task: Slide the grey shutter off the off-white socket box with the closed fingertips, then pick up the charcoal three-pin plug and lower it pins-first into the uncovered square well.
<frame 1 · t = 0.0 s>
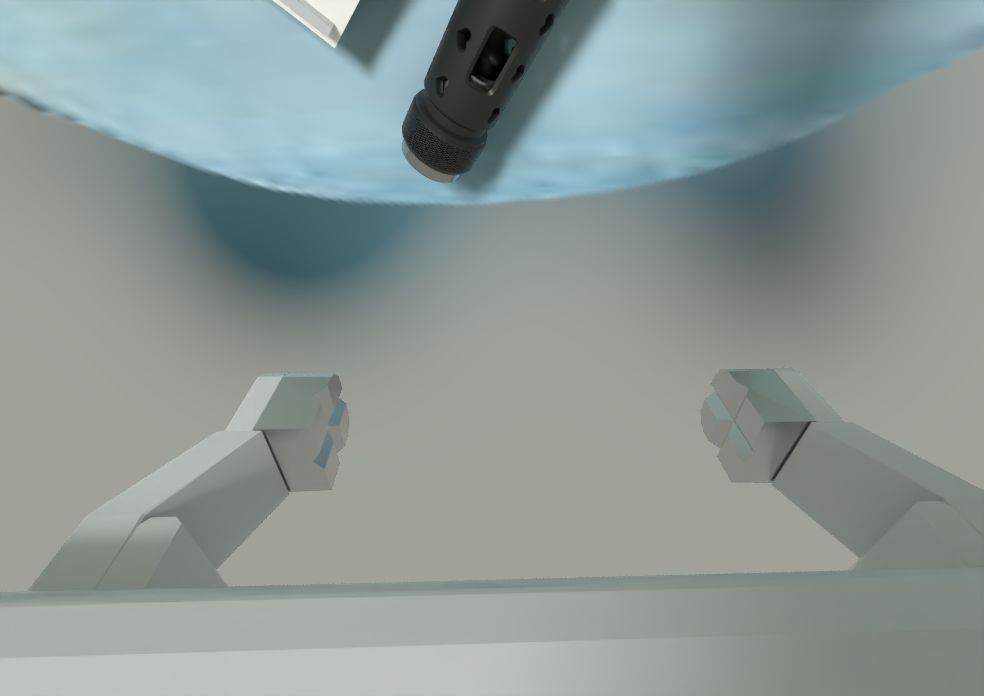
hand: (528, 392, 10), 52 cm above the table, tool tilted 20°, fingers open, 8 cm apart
muzzle brake: (485, 28, 49), on the table
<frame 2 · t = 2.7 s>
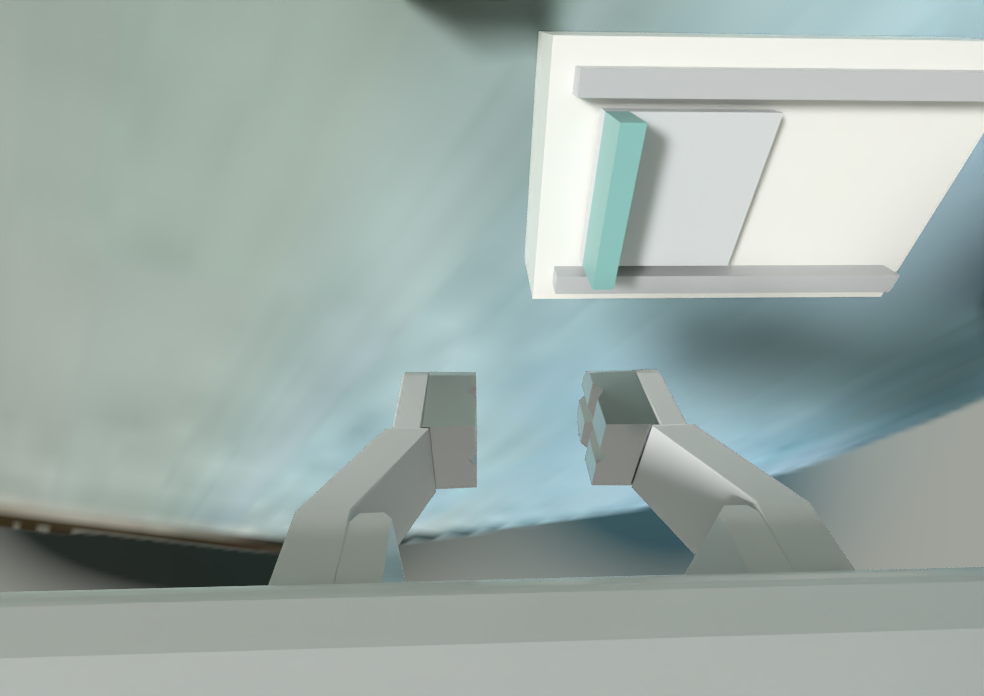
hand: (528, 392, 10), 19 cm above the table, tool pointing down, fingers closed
socket box: (704, 162, 25), on the table
shutter: (679, 202, 20), point 7 cm above the table, slide at 0.0 cm
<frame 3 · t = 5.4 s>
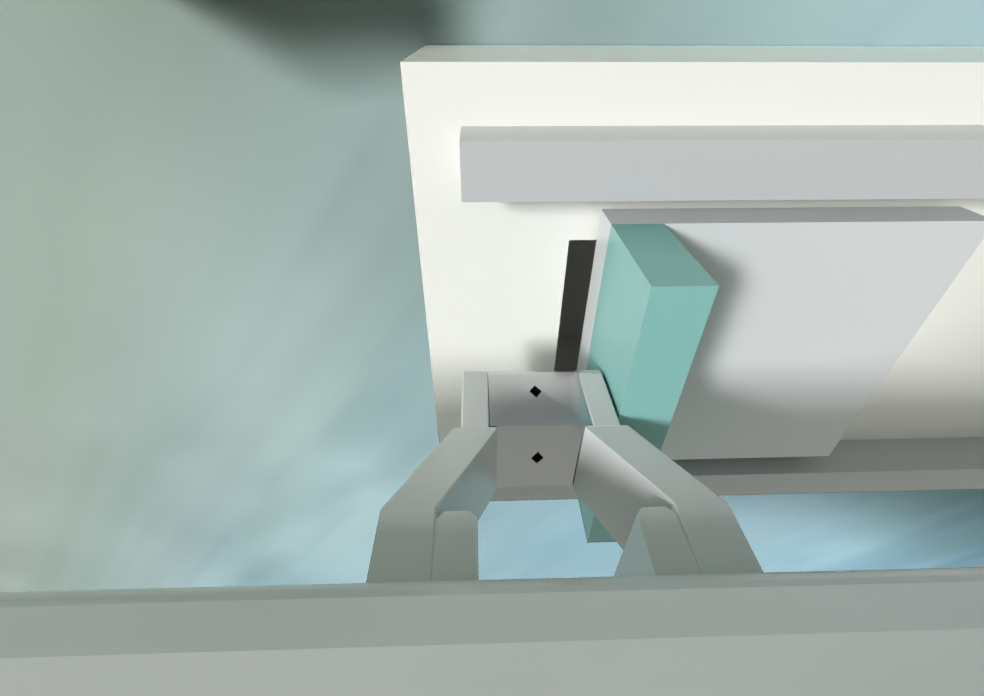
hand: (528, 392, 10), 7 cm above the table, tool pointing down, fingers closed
socket box: (728, 254, 15), on the table
shutter: (759, 386, 10), point 7 cm above the table, slide at 1.6 cm, touching gripper
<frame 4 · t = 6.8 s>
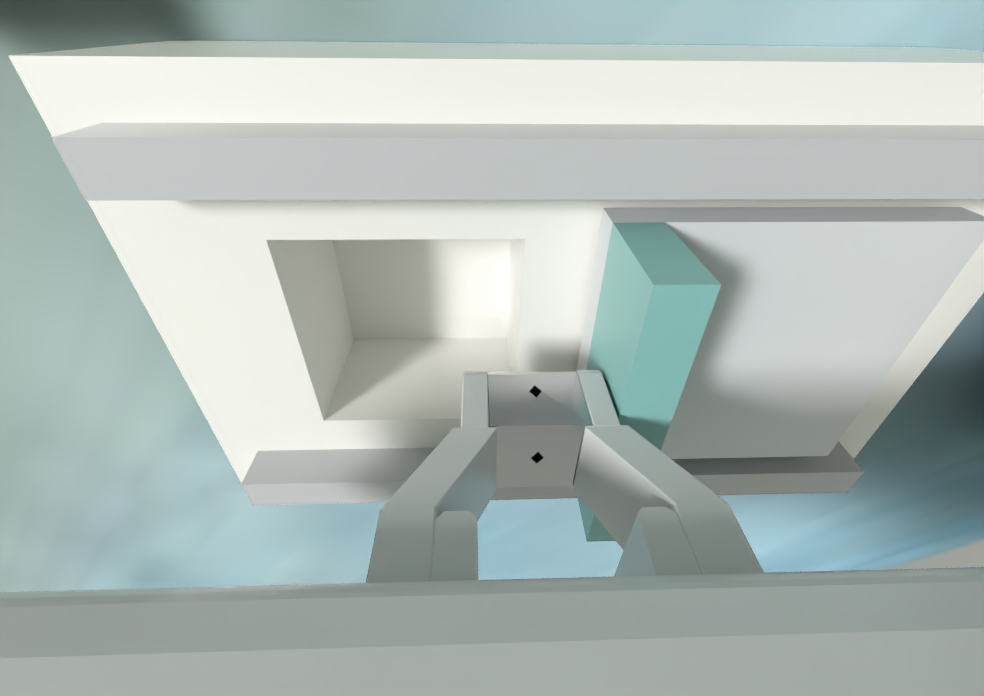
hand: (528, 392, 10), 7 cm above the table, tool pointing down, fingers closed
socket box: (543, 255, 15), on the table
shutter: (760, 386, 10), point 7 cm above the table, slide at 8.0 cm, touching gripper
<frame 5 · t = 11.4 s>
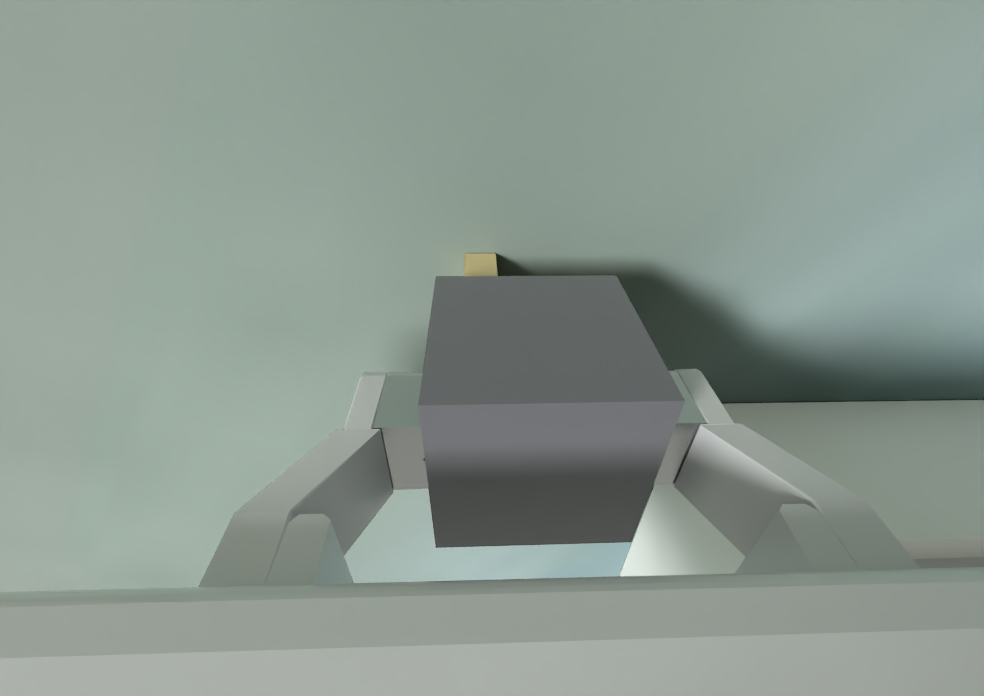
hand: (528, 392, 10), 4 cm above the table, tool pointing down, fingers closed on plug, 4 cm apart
plug: (515, 305, 13), on the table, touching gripper
socket box: (875, 500, 19), on the table
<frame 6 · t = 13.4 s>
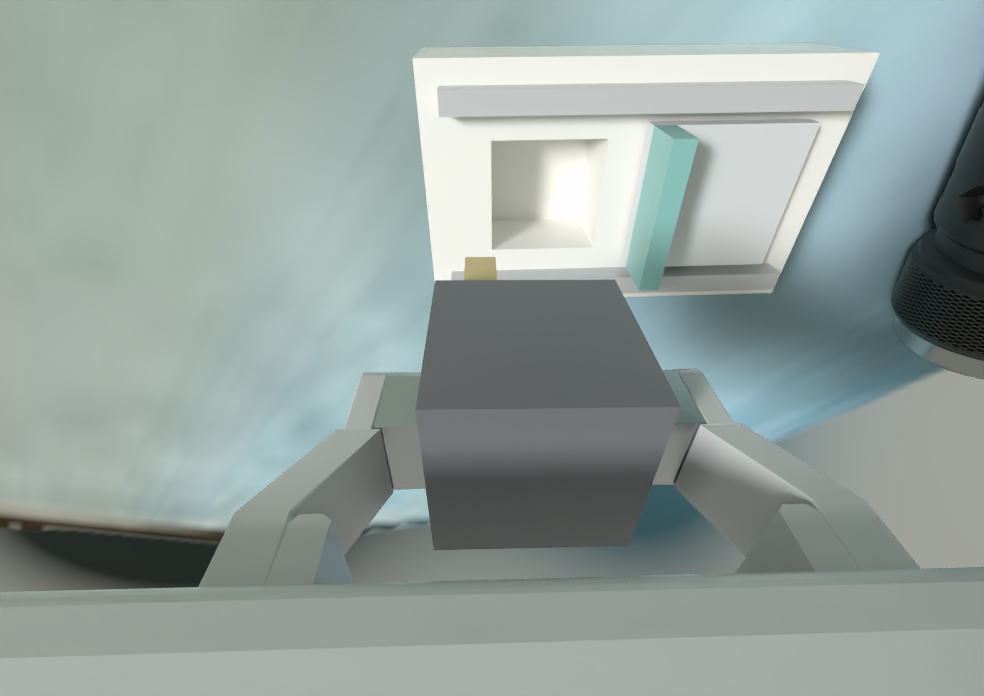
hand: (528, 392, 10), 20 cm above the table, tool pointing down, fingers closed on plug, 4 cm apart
plug: (515, 308, 13), point 17 cm above the table, touching gripper
socket box: (601, 166, 26), on the table
shutter: (721, 208, 21), point 7 cm above the table, slide at 8.2 cm
when the fingers open (6 cm above the table, at t = 15.9 s): plug drops 1 cm, resting on socket box.
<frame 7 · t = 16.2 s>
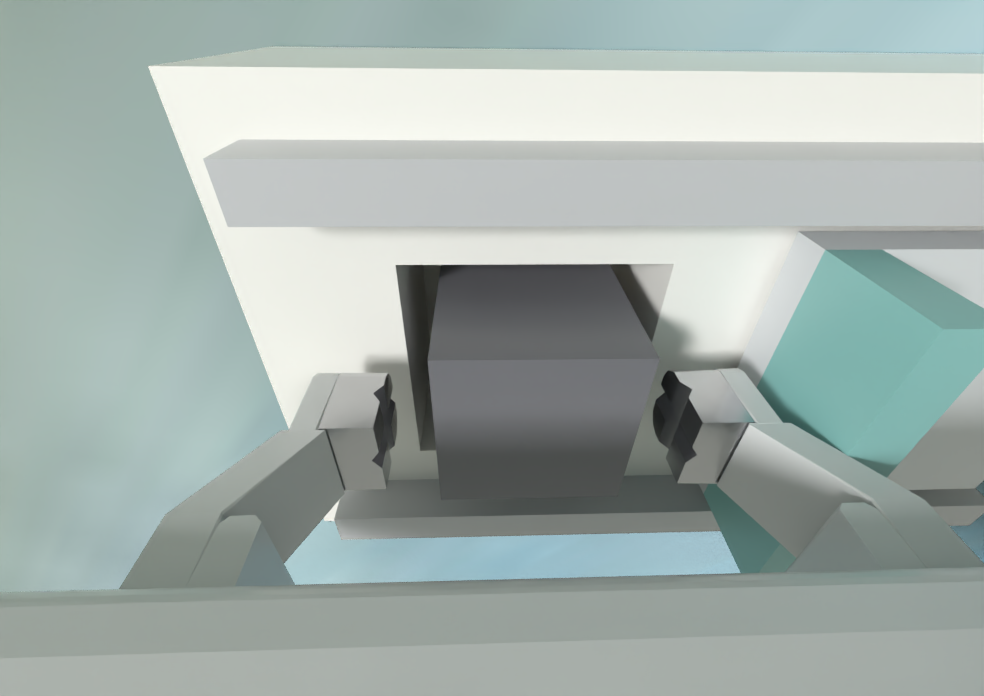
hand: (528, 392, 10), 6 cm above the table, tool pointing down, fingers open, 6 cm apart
plug: (514, 288, 14), point 1 cm above the table, touching socket box
socket box: (635, 271, 14), on the table
shutter: (947, 422, 9), point 7 cm above the table, slide at 8.6 cm, touching gripper
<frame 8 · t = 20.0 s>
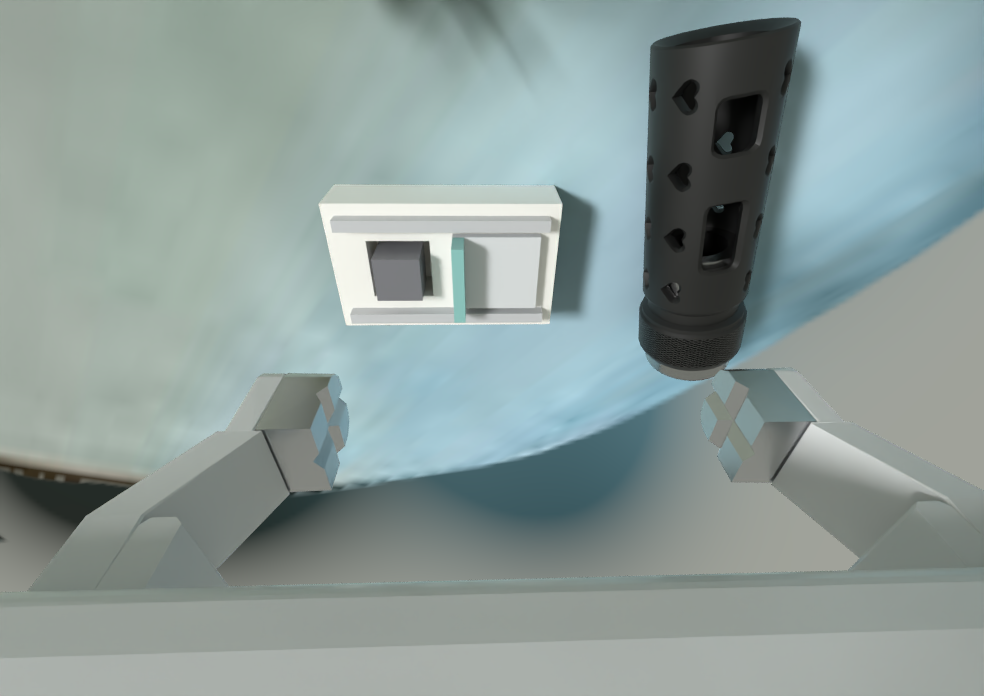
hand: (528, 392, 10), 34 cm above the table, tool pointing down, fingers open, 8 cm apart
muzzle brake: (675, 205, 43), on the table
plug: (406, 251, 43), point 1 cm above the table, touching socket box
socket box: (448, 246, 44), on the table
shutter: (496, 279, 39), point 7 cm above the table, slide at 8.5 cm
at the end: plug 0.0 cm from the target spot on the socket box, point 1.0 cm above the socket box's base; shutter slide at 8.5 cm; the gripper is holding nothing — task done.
